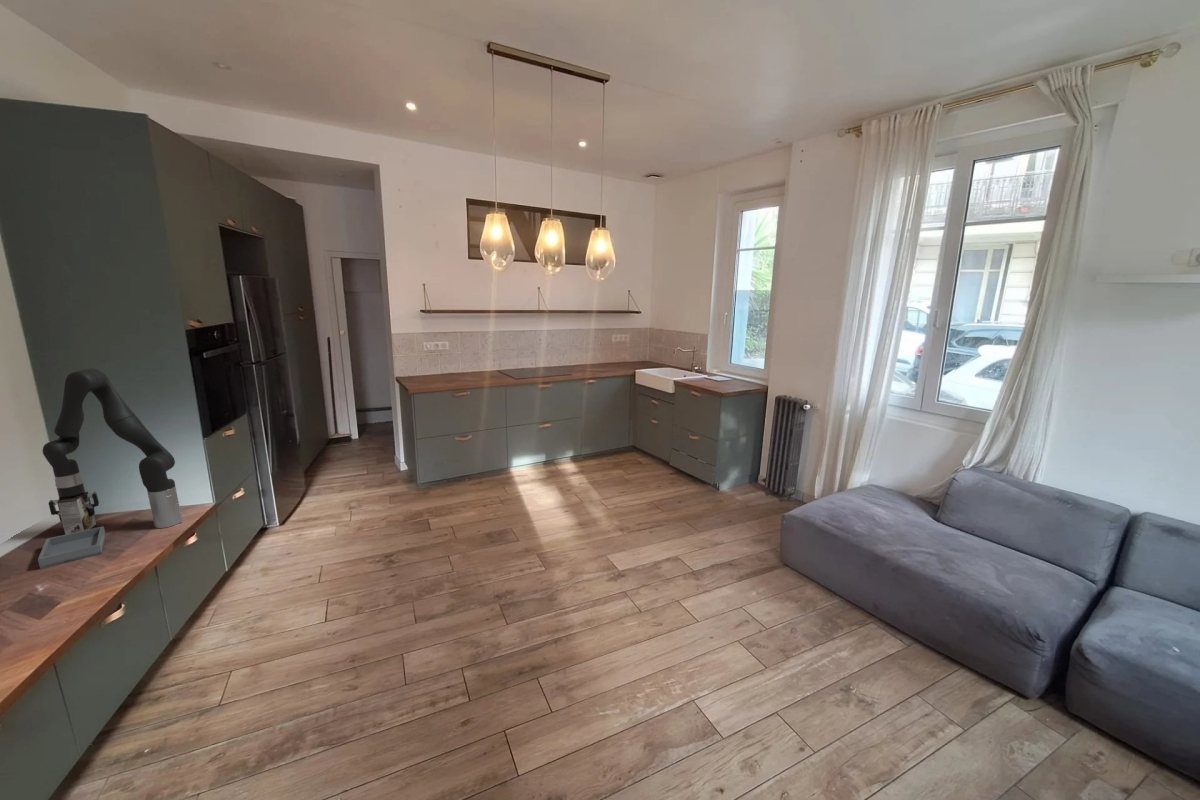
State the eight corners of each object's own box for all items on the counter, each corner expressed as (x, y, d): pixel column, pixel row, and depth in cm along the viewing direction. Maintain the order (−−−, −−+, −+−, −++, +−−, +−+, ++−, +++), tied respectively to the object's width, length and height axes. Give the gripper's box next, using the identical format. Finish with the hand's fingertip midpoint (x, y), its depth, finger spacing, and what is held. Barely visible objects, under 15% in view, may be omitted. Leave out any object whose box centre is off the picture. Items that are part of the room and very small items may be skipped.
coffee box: (77, 526, 204) (68, 493, 201) (96, 524, 207) (88, 491, 203) (64, 536, 196) (55, 501, 193) (85, 533, 199) (76, 499, 195)
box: (105, 534, 199) (103, 526, 198) (101, 553, 185) (99, 544, 184) (48, 547, 188) (46, 538, 187) (40, 569, 174) (37, 559, 173)
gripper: (94, 477, 204) (102, 511, 208) (45, 485, 195) (54, 520, 198) (93, 482, 199) (101, 516, 203) (42, 491, 189) (51, 527, 193)
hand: (78, 518), depth 200 cm, fingers closed on coffee box, 7 cm apart
